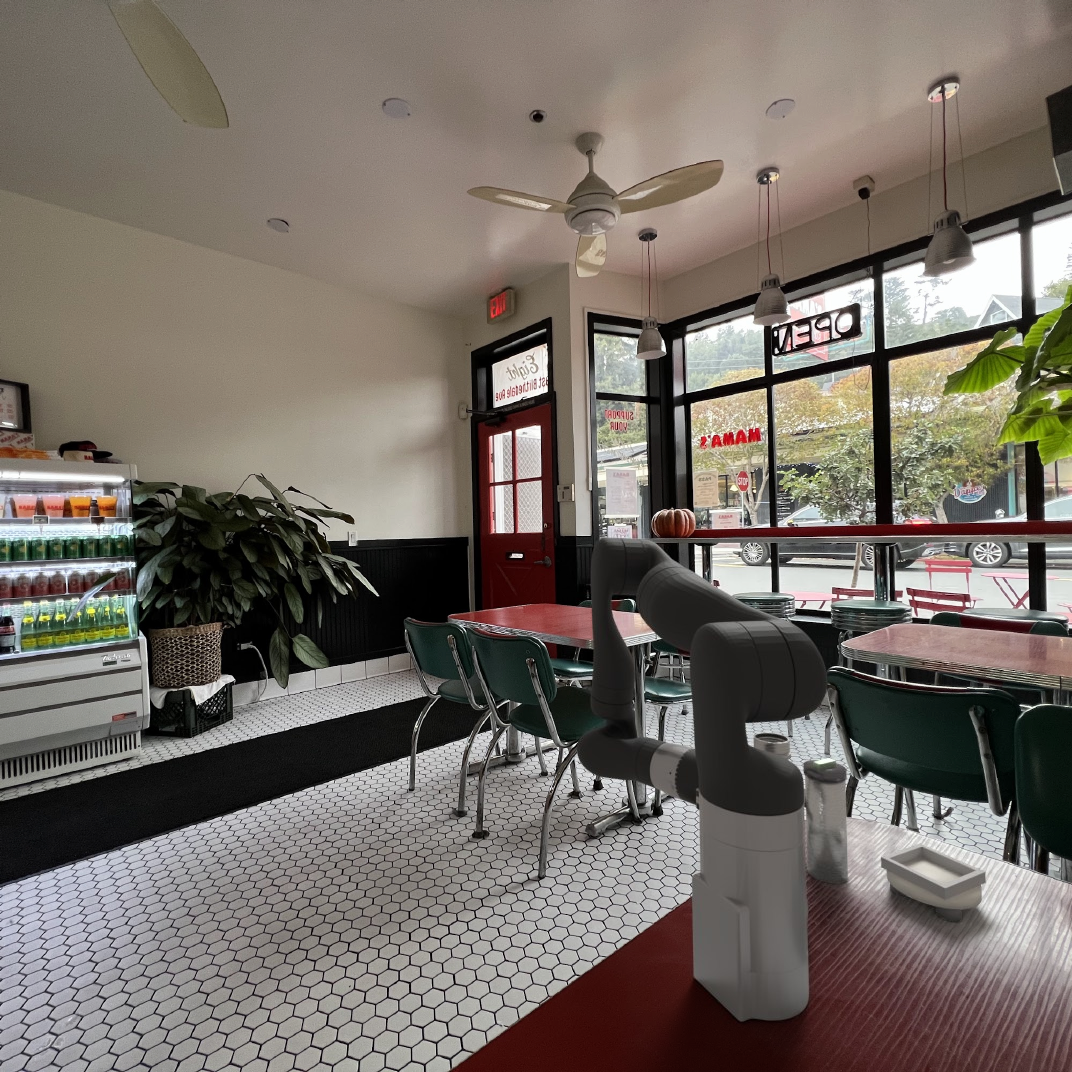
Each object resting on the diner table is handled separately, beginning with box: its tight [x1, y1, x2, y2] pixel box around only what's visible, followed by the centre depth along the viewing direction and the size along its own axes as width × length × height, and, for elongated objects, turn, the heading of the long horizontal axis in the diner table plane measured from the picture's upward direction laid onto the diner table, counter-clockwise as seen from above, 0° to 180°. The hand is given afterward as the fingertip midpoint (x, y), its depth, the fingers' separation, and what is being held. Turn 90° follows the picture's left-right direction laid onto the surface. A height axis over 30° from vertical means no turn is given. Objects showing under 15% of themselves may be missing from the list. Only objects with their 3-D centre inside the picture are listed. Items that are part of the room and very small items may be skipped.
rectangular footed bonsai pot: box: [880, 843, 987, 923], centre depth 68 cm, size 9×9×4 cm
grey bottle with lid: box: [803, 757, 849, 885], centre depth 74 cm, size 5×5×14 cm
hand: (794, 808), depth 77 cm, fingers open, 8 cm apart
